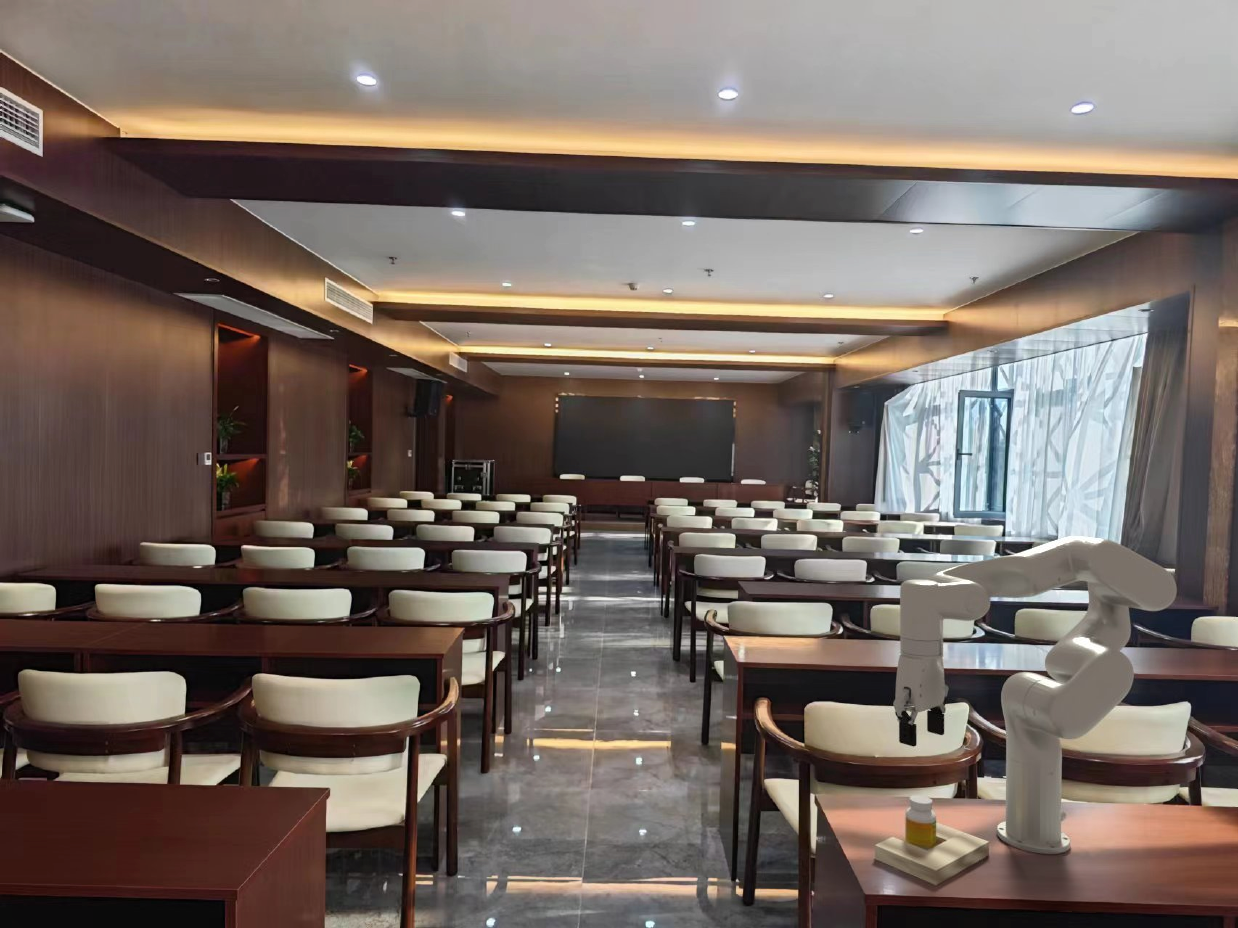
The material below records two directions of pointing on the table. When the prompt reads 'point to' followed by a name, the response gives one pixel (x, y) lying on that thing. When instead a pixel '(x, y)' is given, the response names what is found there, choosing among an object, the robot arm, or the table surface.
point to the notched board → (934, 854)
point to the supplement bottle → (920, 823)
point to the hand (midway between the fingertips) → (922, 738)
